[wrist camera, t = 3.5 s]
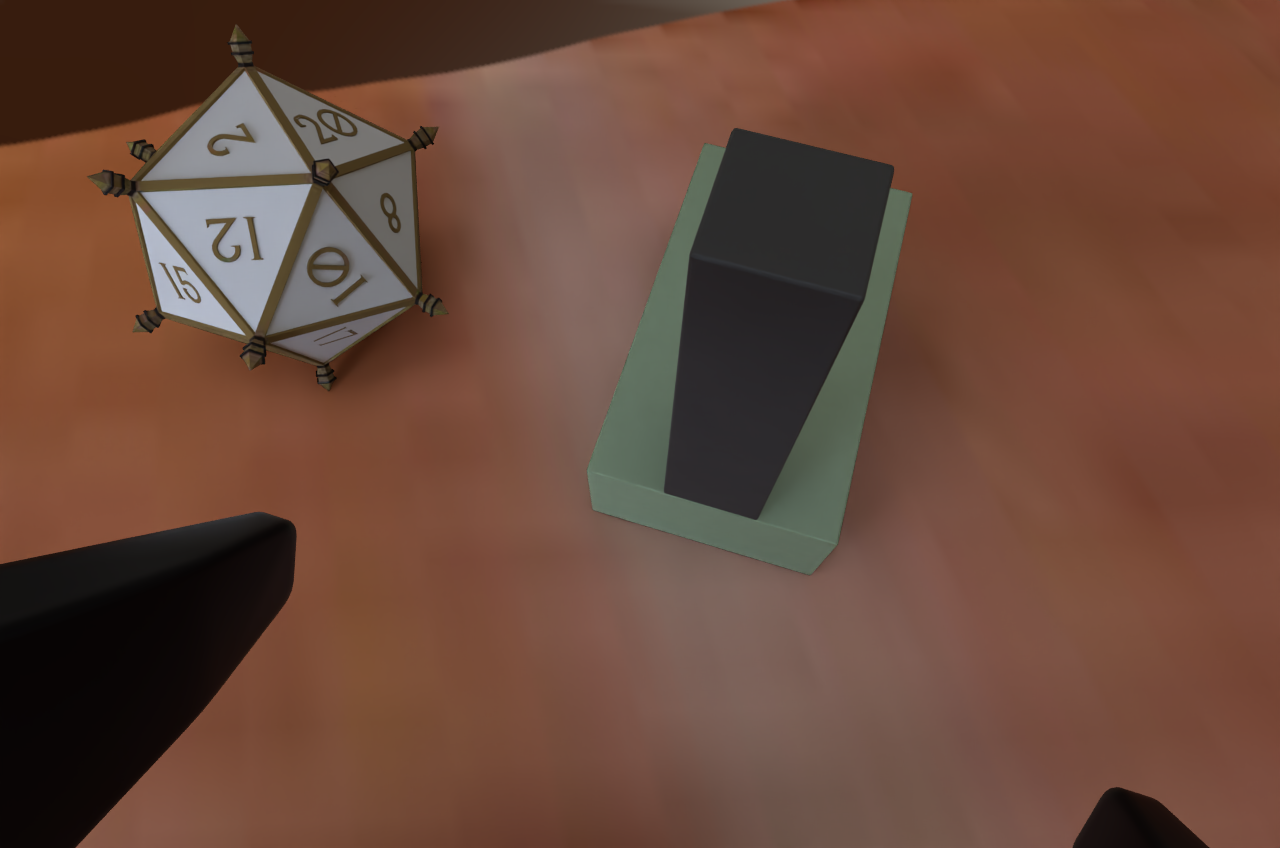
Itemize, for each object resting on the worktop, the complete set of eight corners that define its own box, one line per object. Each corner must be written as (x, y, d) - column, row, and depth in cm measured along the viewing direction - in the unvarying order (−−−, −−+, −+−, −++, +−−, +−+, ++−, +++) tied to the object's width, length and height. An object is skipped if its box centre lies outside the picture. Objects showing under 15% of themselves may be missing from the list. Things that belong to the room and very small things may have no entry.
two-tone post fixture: (810, 576, 22) (1019, 340, 10) (592, 510, 23) (547, 218, 11) (881, 257, 26) (1086, -168, 15) (696, 210, 27) (746, -232, 15)
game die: (353, 320, 30) (285, 18, 25) (530, 364, 25) (490, 12, 21) (105, 421, 23) (-53, 37, 18) (291, 503, 19) (150, 34, 14)
